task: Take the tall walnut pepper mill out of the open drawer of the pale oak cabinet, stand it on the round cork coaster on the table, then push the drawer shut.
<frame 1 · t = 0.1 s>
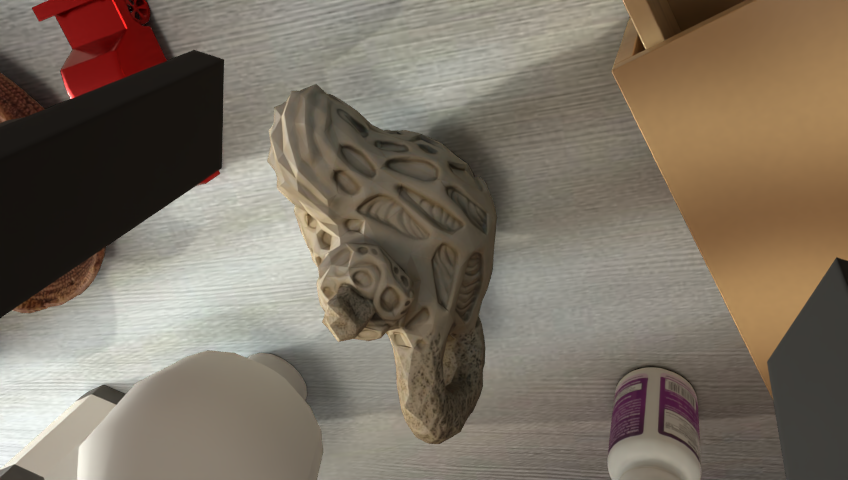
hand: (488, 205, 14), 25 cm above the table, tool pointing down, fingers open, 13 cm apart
teapot: (434, 200, 44), on the table
wine bottle: (120, 413, 68), on the table
basket: (18, 174, 56), on the table
vase: (275, 380, 58), on the table
toy car: (158, 83, 46), on the table
pill bottle: (656, 393, 45), on the table
cabinet: (843, 102, 33), on the table
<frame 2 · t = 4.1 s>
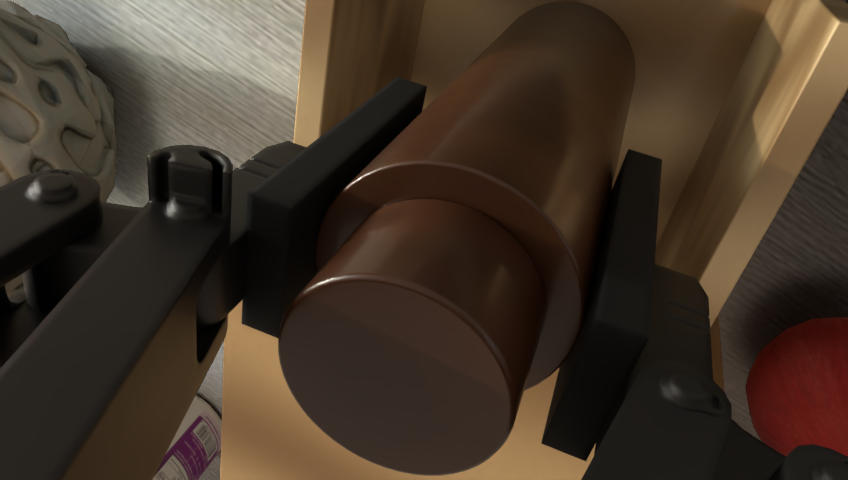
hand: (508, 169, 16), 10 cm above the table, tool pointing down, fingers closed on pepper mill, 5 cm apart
teapot: (74, 115, 33), on the table
drawer: (556, 66, 19), point 5 cm above the table, slide at 11.0 cm, touching pepper mill
pill bottle: (195, 416, 43), on the table
red pomegranate: (820, 335, 26), on the table
cabinet: (481, 336, 31), on the table
pepper mill: (561, 74, 22), point 2 cm above the table, touching drawer, gripper
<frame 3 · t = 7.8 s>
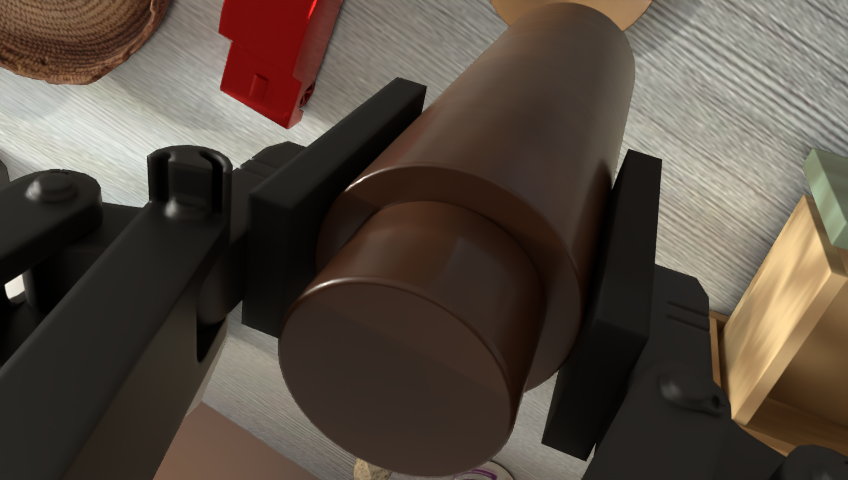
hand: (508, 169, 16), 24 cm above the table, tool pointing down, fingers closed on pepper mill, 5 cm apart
teapot: (460, 280, 48), on the table
vase: (188, 269, 57), on the table
toy car: (305, 4, 42), on the table
pill bottle: (487, 478, 57), on the table
cabinet: (754, 439, 46), on the table
pepper mill: (561, 75, 22), point 16 cm above the table, touching gripper
when the fingers open (9 cm above the table, at t = 11.5 s): pepper mill stays where it is, resting on coaster.
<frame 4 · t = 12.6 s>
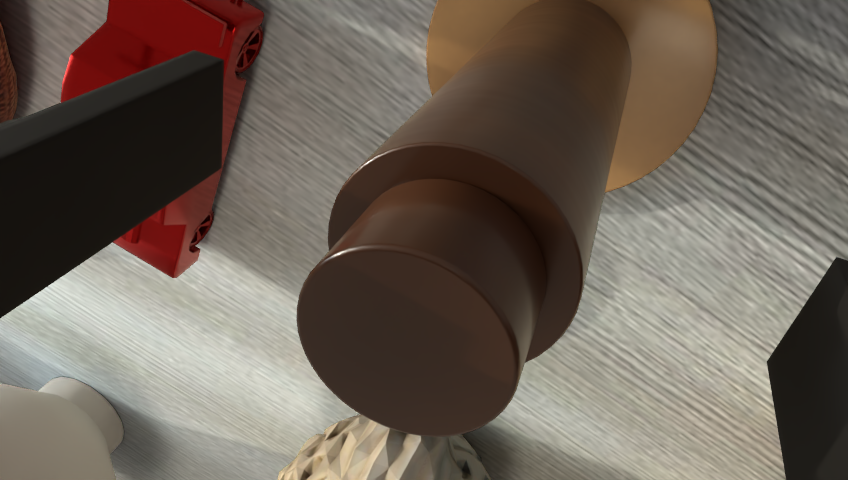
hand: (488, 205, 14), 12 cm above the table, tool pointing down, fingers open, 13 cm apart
teapot: (420, 456, 36), on the table
coaster: (563, 63, 23), on the table
vase: (86, 411, 45), on the table
toy car: (192, 112, 30), on the table
pepper mill: (560, 68, 23), point 1 cm above the table, touching coaster
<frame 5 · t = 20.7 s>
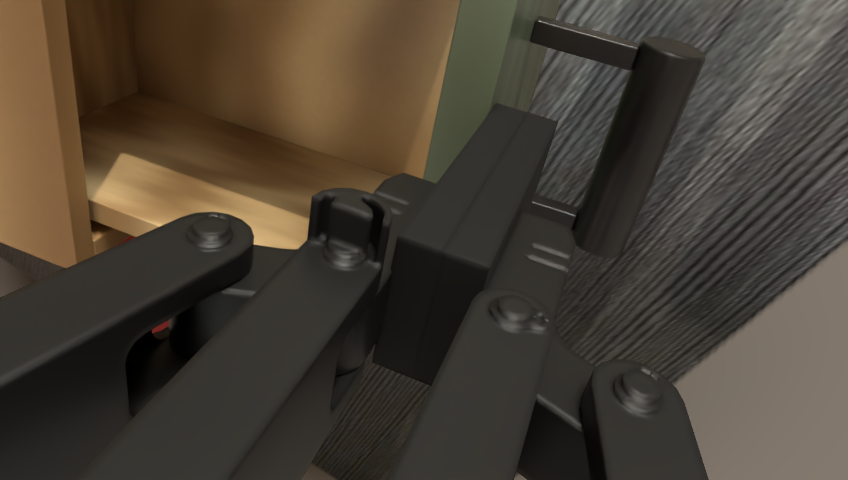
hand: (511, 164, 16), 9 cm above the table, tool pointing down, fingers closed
drawer: (323, 52, 20), point 5 cm above the table, slide at 10.1 cm, touching gripper
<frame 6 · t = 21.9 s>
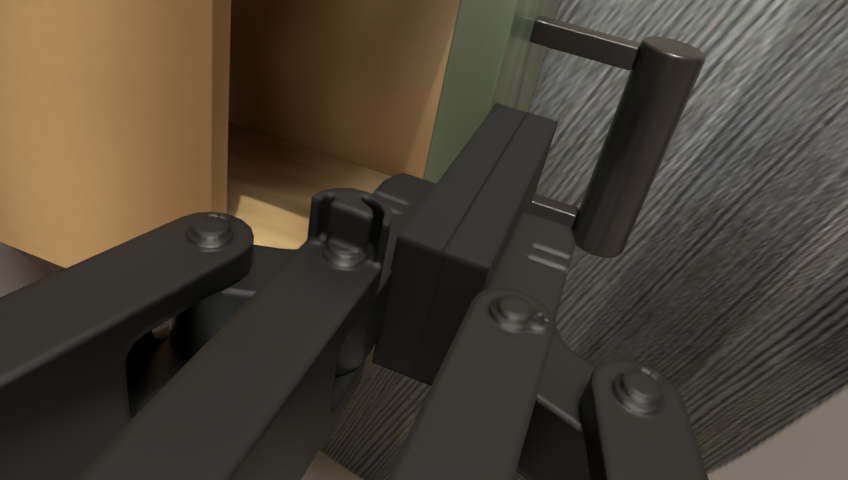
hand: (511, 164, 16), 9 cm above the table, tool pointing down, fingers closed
drawer: (323, 52, 20), point 5 cm above the table, slide at 5.3 cm, touching gripper
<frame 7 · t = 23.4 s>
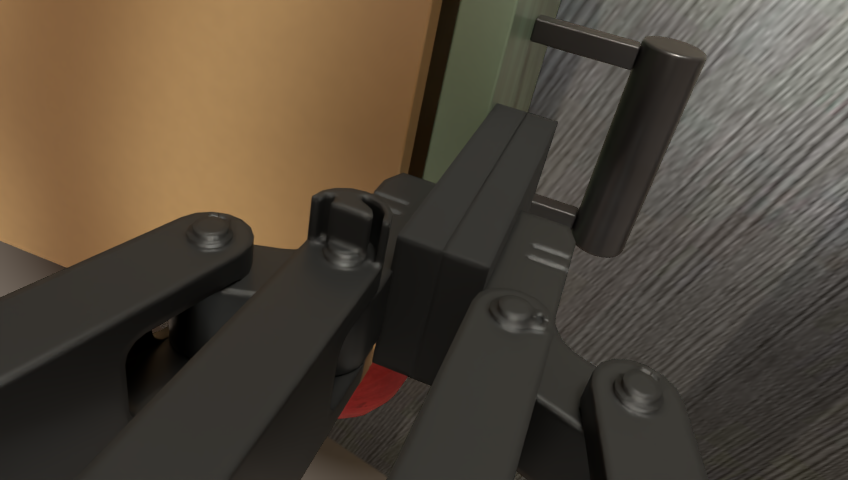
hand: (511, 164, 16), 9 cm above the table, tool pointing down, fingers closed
drawer: (323, 50, 20), point 5 cm above the table, slide at 0.3 cm, touching gripper
red pomegranate: (381, 294, 31), on the table
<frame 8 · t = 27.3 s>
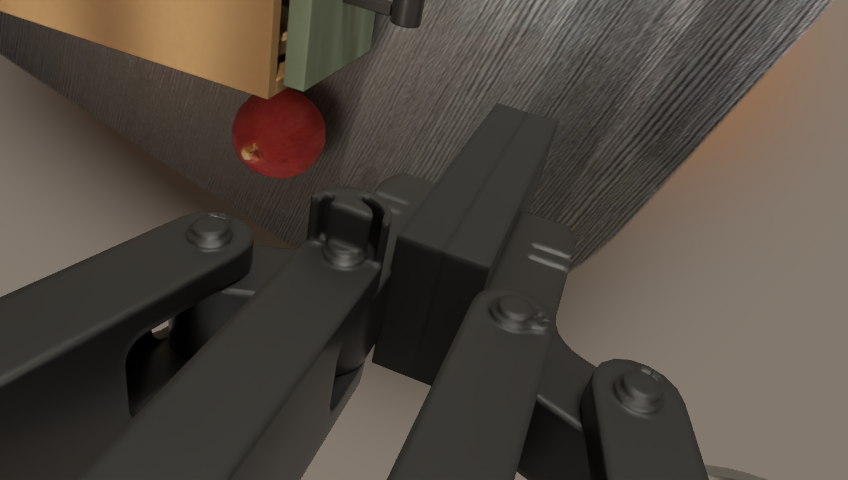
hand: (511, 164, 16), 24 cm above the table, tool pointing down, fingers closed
red pomegranate: (307, 114, 46), on the table
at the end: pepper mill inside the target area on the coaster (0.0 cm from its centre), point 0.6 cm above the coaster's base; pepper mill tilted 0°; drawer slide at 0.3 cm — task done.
